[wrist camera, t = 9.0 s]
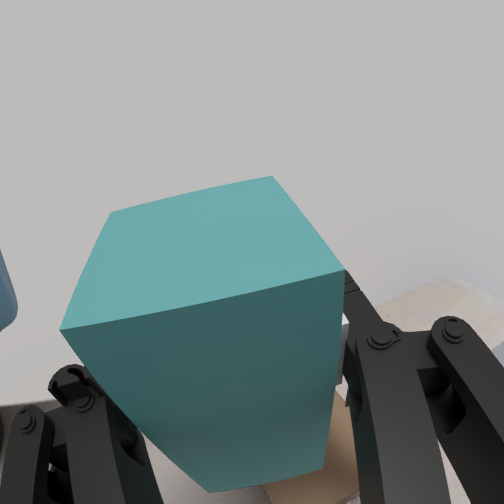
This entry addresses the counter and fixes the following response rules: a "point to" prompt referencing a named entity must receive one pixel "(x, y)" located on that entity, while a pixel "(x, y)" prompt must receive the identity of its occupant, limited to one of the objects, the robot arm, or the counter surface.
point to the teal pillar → (216, 330)
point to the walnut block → (325, 468)
